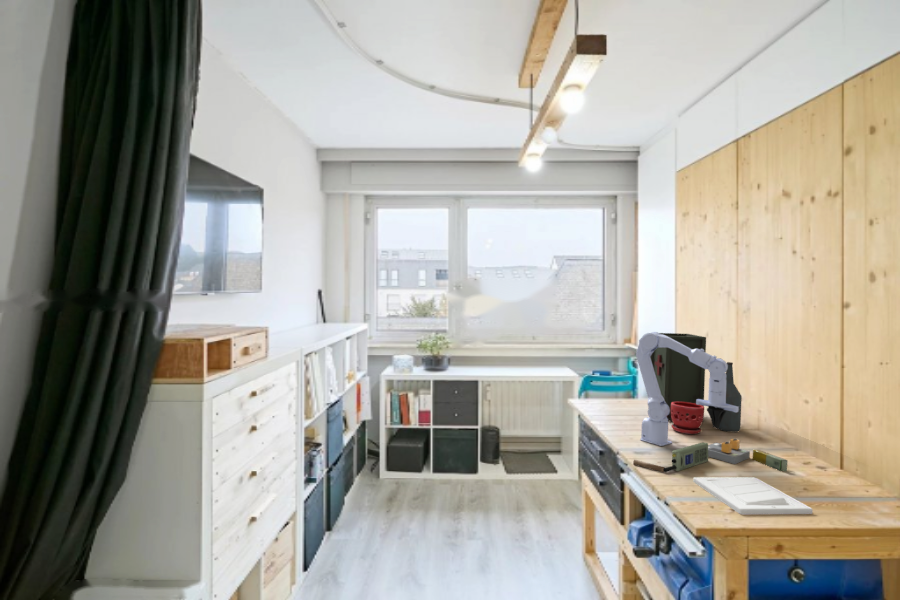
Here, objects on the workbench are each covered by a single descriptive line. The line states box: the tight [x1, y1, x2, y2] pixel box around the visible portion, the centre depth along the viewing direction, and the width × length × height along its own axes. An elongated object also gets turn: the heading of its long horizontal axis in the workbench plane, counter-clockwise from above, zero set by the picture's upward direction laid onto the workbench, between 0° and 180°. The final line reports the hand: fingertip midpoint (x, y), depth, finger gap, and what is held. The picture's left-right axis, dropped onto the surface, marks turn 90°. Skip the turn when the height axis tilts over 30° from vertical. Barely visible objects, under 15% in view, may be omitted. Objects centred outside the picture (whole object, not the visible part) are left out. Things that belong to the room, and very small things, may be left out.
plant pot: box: [671, 402, 705, 435], centre depth 212 cm, size 13×13×12 cm
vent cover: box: [692, 476, 813, 515], centre depth 144 cm, size 23×3×21 cm
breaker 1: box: [721, 441, 732, 453], centre depth 176 cm, size 2×2×3 cm
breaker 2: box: [729, 437, 741, 450], centre depth 180 cm, size 2×2×3 cm
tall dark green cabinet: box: [650, 332, 707, 423], centre depth 237 cm, size 18×18×40 cm
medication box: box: [752, 449, 789, 472], centre depth 171 cm, size 12×3×4 cm, turn 14°
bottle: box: [716, 361, 742, 433], centre depth 217 cm, size 10×10×30 cm
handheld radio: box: [663, 441, 709, 473], centre depth 168 cm, size 7×3×25 cm
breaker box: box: [708, 442, 751, 465], centre depth 180 cm, size 12×12×3 cm
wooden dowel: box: [632, 459, 666, 473], centre depth 165 cm, size 10×2×2 cm, turn 46°
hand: (716, 427), depth 182 cm, fingers closed
